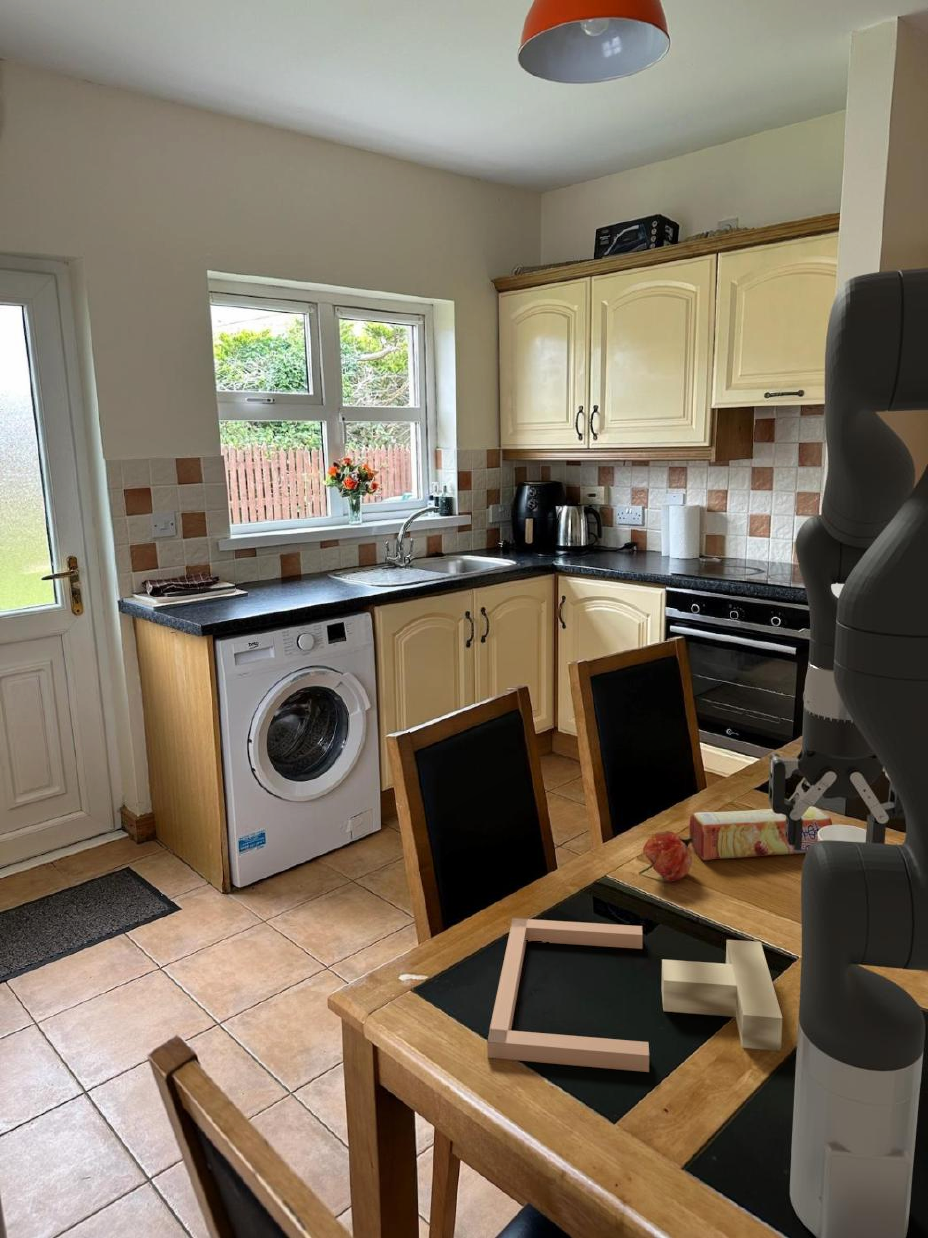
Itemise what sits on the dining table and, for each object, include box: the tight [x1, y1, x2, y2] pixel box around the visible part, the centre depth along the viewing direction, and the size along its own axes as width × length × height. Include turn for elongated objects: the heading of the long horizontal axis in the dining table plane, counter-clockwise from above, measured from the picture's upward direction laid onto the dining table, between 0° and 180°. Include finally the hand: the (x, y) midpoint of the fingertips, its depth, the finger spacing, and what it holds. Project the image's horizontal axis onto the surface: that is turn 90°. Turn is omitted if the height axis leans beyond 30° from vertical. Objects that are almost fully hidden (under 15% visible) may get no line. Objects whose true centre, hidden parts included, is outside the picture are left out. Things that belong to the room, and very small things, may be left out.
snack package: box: [688, 806, 833, 861], centre depth 134 cm, size 21×7×7 cm, turn 94°
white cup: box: [818, 824, 866, 843], centre depth 118 cm, size 8×8×10 cm
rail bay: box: [486, 917, 650, 1073], centre depth 102 cm, size 24×17×2 cm
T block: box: [661, 939, 783, 1052], centre depth 99 cm, size 12×14×4 cm
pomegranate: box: [638, 830, 696, 883], centre depth 127 cm, size 7×7×10 cm
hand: (833, 849), depth 93 cm, fingers open, 7 cm apart
